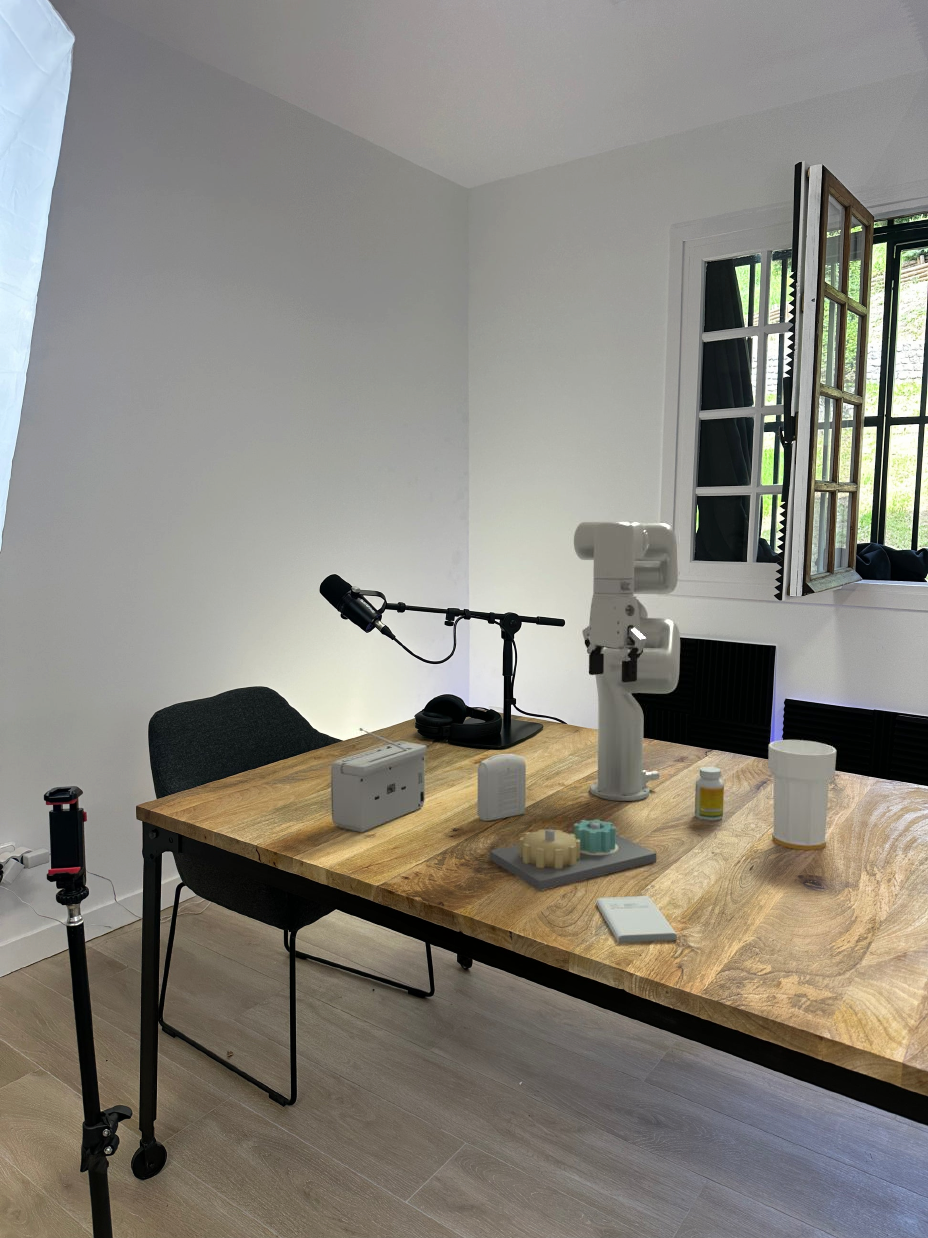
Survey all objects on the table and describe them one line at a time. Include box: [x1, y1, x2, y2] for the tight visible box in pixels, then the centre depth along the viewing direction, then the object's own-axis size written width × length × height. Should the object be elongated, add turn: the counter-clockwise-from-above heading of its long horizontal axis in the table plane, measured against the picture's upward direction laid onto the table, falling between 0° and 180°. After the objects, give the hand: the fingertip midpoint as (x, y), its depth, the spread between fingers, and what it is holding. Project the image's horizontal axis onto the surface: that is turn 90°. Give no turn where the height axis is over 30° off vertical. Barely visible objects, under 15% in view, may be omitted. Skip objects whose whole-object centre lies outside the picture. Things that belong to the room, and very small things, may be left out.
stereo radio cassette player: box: [330, 727, 428, 834], centre depth 167 cm, size 21×8×20 cm, turn 145°
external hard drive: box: [596, 895, 678, 944], centre depth 122 cm, size 2×8×12 cm
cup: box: [768, 739, 837, 851], centre depth 153 cm, size 11×11×17 cm
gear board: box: [489, 823, 657, 891], centre depth 145 cm, size 24×15×6 cm, turn 120°
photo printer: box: [476, 753, 527, 822], centre depth 168 cm, size 10×4×12 cm, turn 123°
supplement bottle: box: [694, 766, 725, 822], centre depth 167 cm, size 5×5×10 cm
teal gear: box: [573, 819, 617, 854], centre depth 147 cm, size 7×7×4 cm
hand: (612, 677), depth 162 cm, fingers open, 9 cm apart
